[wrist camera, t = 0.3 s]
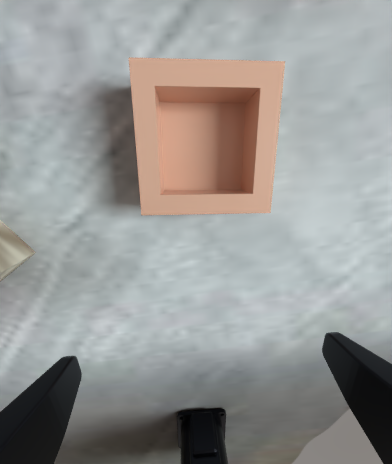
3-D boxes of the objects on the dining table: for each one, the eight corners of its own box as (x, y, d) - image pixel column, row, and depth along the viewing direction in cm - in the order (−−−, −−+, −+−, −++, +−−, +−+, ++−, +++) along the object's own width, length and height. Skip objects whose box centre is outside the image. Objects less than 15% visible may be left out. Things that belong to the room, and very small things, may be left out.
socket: (252, 203, 21) (270, 212, 17) (150, 205, 20) (141, 215, 16) (260, 87, 18) (285, 61, 14) (141, 84, 17) (128, 57, 13)
